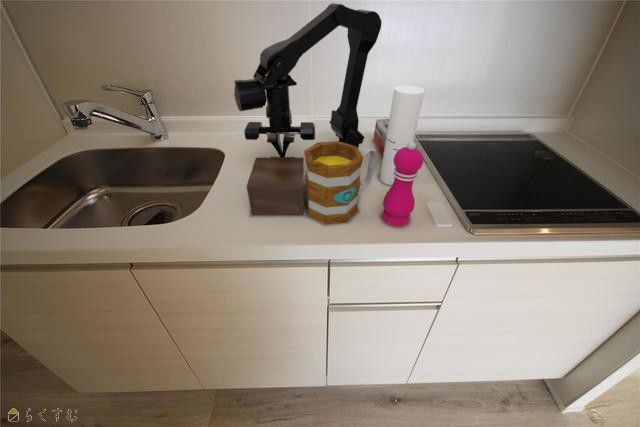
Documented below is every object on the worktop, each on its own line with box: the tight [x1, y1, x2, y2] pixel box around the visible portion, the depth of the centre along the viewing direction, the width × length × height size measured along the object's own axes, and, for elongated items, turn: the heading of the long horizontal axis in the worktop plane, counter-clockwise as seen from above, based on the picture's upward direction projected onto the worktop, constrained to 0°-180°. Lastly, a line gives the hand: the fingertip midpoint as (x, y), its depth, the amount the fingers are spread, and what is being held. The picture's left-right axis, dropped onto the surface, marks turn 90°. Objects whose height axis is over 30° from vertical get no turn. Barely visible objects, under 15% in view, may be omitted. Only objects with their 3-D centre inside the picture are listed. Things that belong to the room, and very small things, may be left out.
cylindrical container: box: [379, 84, 426, 186], centre depth 76 cm, size 7×7×25 cm
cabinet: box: [246, 157, 305, 216], centre depth 73 cm, size 14×13×9 cm
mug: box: [303, 140, 377, 225], centre depth 70 cm, size 20×14×15 cm
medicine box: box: [373, 118, 389, 157], centre depth 96 cm, size 15×8×8 cm, turn 6°
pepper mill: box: [382, 141, 424, 227], centre depth 64 cm, size 7×7×20 cm
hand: (283, 158), depth 84 cm, fingers closed, pressing on drawer
